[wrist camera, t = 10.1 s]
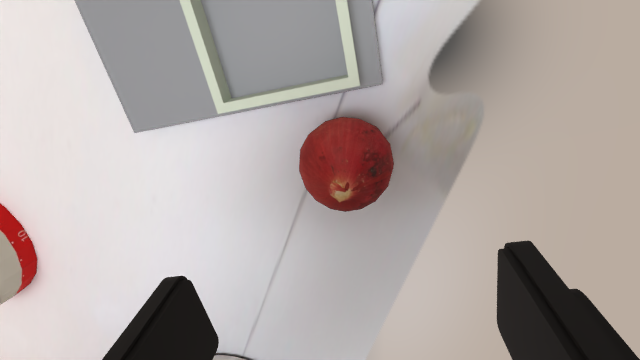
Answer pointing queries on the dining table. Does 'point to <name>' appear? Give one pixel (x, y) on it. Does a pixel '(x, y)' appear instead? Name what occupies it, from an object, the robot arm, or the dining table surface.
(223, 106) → the socket
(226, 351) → the dining table surface
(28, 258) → the kitchen timer
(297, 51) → the board
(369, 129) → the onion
